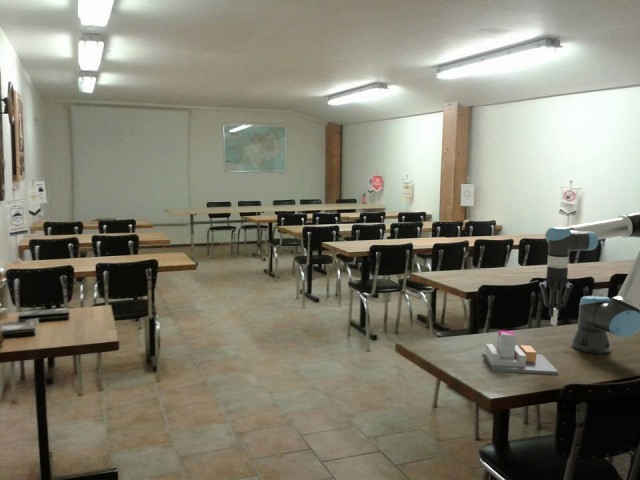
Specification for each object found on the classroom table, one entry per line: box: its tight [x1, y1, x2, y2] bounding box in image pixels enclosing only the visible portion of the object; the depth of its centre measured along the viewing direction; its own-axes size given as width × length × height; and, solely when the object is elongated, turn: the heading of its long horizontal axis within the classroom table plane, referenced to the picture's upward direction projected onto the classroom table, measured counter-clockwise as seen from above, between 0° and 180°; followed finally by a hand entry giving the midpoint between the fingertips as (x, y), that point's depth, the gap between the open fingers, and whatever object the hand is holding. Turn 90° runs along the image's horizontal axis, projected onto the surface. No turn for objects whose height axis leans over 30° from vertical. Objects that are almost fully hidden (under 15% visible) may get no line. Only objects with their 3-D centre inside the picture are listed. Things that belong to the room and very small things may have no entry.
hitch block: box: [482, 343, 559, 375], centre depth 216 cm, size 24×19×6 cm
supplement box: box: [496, 329, 517, 360], centre depth 216 cm, size 6×6×12 cm
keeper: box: [519, 344, 538, 362], centre depth 218 cm, size 4×8×4 cm, turn 176°
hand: (553, 324), depth 216 cm, fingers closed
